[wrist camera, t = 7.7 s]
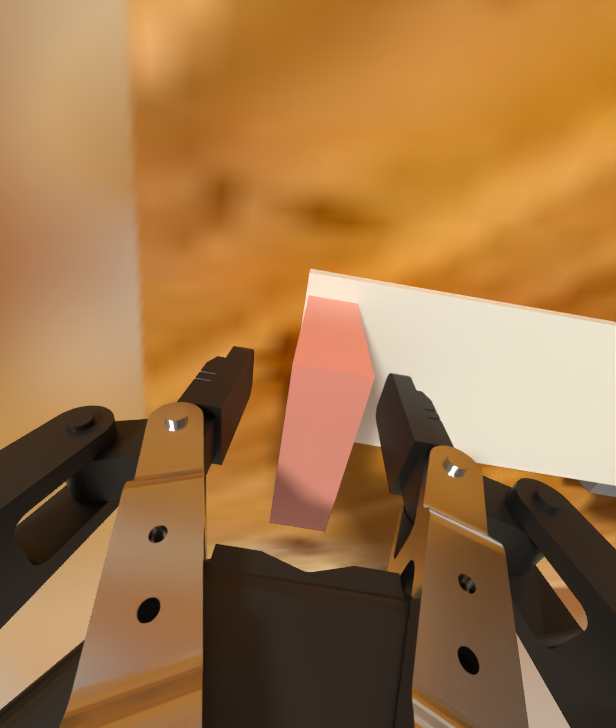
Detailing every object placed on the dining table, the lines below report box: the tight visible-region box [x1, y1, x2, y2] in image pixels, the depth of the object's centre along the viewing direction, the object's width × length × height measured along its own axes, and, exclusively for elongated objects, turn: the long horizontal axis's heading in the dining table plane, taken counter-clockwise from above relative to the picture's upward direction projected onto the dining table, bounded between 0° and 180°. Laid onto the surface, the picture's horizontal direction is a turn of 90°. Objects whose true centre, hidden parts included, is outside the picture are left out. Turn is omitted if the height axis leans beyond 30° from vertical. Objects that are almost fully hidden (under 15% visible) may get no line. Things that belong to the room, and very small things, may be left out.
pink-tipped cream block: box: [270, 269, 616, 531], centre depth 10 cm, size 8×20×6 cm, turn 81°
